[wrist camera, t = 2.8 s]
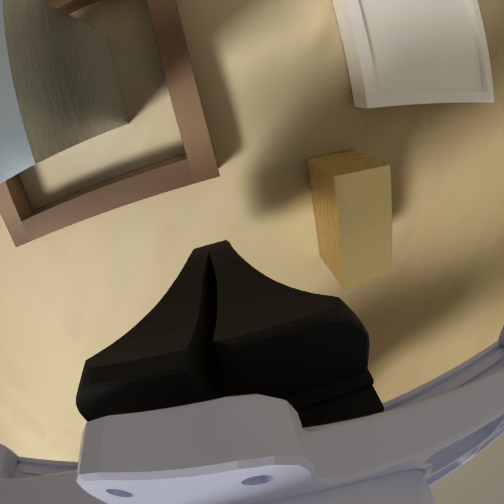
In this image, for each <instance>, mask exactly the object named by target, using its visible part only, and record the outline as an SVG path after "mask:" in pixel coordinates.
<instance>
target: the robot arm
mask: <svg viewBox="0 0 504 504" xmlns="http://www.w3.org/2000/svg"><path fill="white" fill-rule="evenodd" d="M368 355H369V335H368V333H367V331H366V329H365V327H364V326H363V324H362V322H361V321H360V320H359V318H358V317H357V316H356V315H355V314H354V312H353V311H352V310H351V309H350V308H349V307H348V306H347V305H346V304H345V303H344V302H343V301H342V300H341V299H340V298H339V297H334V296H327V295H320V294H314V293H309V292H305V291H301V290H298V289H294V288H291V287H289V286H286V285H283V284H281V283H278V282H276V281H274V280H272V279H271V278H269V277H267V276H265V275H264V274H262V273H261V272H259V271H258V270H256V269H255V268H254V267H252V266H251V265H250V264H248V263H247V262H246V261H245V260H244V259H243V258H242V257H241V256H240V255H239V254H238V253H237V252H236V251H235V250H234V249H233V247H232V246H231V244H230V242H228V241H227V240H224V241H221V242H217V243H214V244H210V245H206V246H203V247H199V248H196V249H194V250H193V252H192V253H191V255H190V257H189V258H188V260H187V262H186V264H185V265H184V267H183V269H182V270H181V272H180V274H179V275H178V277H177V278H176V280H175V281H174V283H173V284H172V286H171V287H170V288H169V290H168V291H167V293H166V294H165V295H164V296H163V298H162V299H161V300H160V301H159V302H158V304H157V305H156V306H155V307H154V308H153V309H152V310H151V311H150V312H149V313H148V314H147V315H146V316H145V317H144V318H143V319H142V320H141V321H140V322H139V323H138V324H137V325H136V326H135V327H133V328H132V329H131V330H130V331H129V332H127V333H126V334H125V335H124V336H122V337H121V338H120V339H118V340H117V341H116V342H114V343H113V344H111V345H110V346H108V347H107V348H105V349H104V350H102V351H100V352H99V353H97V354H96V355H94V356H93V357H91V358H89V359H87V360H86V362H85V365H84V368H83V372H82V376H81V380H80V383H79V387H78V391H77V396H76V405H77V408H78V410H79V412H80V413H81V415H82V416H83V417H84V418H85V419H86V420H87V423H86V426H85V428H84V431H83V434H82V441H81V447H80V454H79V461H78V462H67V461H53V460H42V459H33V458H25V457H18V456H17V455H16V454H15V453H14V452H13V451H12V450H10V449H9V448H7V447H6V446H4V445H2V444H0V504H437V503H436V500H435V499H434V496H433V494H432V492H431V490H430V488H429V485H431V484H433V483H434V482H436V481H438V480H439V479H441V478H443V477H444V476H446V475H447V474H449V473H450V472H452V471H453V470H455V469H457V468H458V467H460V466H461V465H462V464H464V463H465V462H467V461H468V460H470V459H471V458H472V457H474V456H475V455H476V454H478V453H479V452H480V451H482V450H483V449H484V448H486V447H487V446H488V445H489V444H491V443H492V442H493V441H495V440H496V439H497V438H498V437H499V436H501V435H502V434H503V433H504V327H503V328H502V331H501V333H500V336H499V340H498V341H497V342H495V343H494V344H492V345H491V346H489V347H488V348H486V349H484V350H483V351H481V352H480V353H478V354H477V355H475V356H473V357H472V358H470V359H468V360H467V361H465V362H463V363H462V364H460V365H458V366H457V367H455V368H453V369H451V370H450V371H448V372H446V373H444V374H442V375H441V376H439V377H437V378H435V379H433V380H431V381H429V382H427V383H425V384H423V385H421V386H419V387H417V388H415V389H413V390H411V391H409V392H407V393H405V394H403V395H401V396H398V397H396V398H394V399H392V400H390V401H387V402H385V403H383V404H382V402H381V401H380V399H379V397H378V395H377V393H376V391H375V389H374V387H373V386H372V384H373V378H372V376H371V374H370V372H369V371H368V369H367V366H368Z"/></svg>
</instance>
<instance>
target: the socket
mask: <svg viewBox="0 0 504 504" xmlns="http://www.w3.org/2000/svg"><path fill="white" fill-rule="evenodd" d="M43 1H45V2H47V3H49V4H50V5H52V6H54V7H56V8H58V9H60V10H61V11H63V12H65V13H67V14H70V13H72V12H74V11H76V10H78V9H80V8H82V7H85V6H87V5H89V4H91V3H94V2H96V1H98V0H43ZM147 5H148V9H149V13H150V18H151V22H152V26H153V30H154V35H155V39H156V43H157V47H158V51H159V55H160V59H161V63H162V67H163V71H164V74H165V78H166V82H167V86H168V90H169V94H170V97H171V101H172V105H173V109H174V112H175V116H176V120H177V123H178V127H179V130H180V134H181V138H182V141H183V145H184V148H185V152H186V154H185V155H182V156H178V157H175V158H172V159H168V160H165V161H162V162H159V163H156V164H153V165H150V166H147V167H144V168H141V169H138V170H135V171H132V172H129V173H126V174H124V175H121V176H118V177H115V178H113V179H110V180H107V181H105V182H102V183H99V184H97V185H94V186H92V187H89V188H86V189H84V190H82V191H79V192H77V193H74V194H72V195H69V196H67V197H65V198H62V199H60V200H58V201H55V202H53V203H51V204H49V205H46V206H44V207H42V208H40V209H38V210H35V211H32V209H31V207H30V204H29V202H28V199H27V197H26V194H25V192H24V189H23V186H22V184H21V181H20V178H19V176H18V174H17V175H15V176H13V177H11V178H10V179H8V180H6V181H4V182H3V183H1V184H0V213H1V215H2V217H3V220H4V222H5V224H6V227H7V229H8V231H9V233H10V235H11V237H12V240H13V242H14V244H15V246H16V247H18V246H20V245H22V244H25V243H27V242H29V241H32V240H34V239H37V238H39V237H41V236H44V235H46V234H49V233H51V232H54V231H56V230H59V229H61V228H64V227H66V226H69V225H72V224H74V223H77V222H79V221H82V220H85V219H87V218H90V217H93V216H96V215H98V214H101V213H104V212H107V211H110V210H112V209H115V208H118V207H121V206H124V205H127V204H130V203H133V202H136V201H139V200H142V199H145V198H148V197H151V196H154V195H158V194H161V193H164V192H167V191H170V190H174V189H177V188H180V187H184V186H187V185H190V184H194V183H197V182H201V181H204V180H208V179H212V178H215V177H219V176H220V174H219V171H218V167H217V163H216V159H215V155H214V152H213V148H212V144H211V140H210V136H209V133H208V129H207V125H206V121H205V117H204V113H203V109H202V106H201V102H200V98H199V94H198V90H197V86H196V82H195V78H194V74H193V70H192V66H191V62H190V58H189V54H188V51H187V47H186V43H185V39H184V35H183V30H182V26H181V22H180V18H179V14H178V10H177V6H176V2H175V0H147Z"/></svg>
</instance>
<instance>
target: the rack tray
mask: <svg viewBox="0 0 504 504" xmlns="http://www.w3.org/2000/svg"><path fill="white" fill-rule="evenodd" d="M332 2H333V6H334V10H335V13H336V17H337V21H338V25H339V30H340V34H341V38H342V42H343V47H344V52H345V56H346V61H347V66H348V72H349V77H350V82H351V88H352V94H353V100H354V106H355V107H360V108H367V109H368V108H378V107H388V106H399V105H412V104H430V103H494V92H493V82H492V73H491V65H490V58H489V52H488V46H487V41H486V35H485V31H484V26H483V21H482V17H481V13H480V9H479V5H478V2H477V0H332Z"/></svg>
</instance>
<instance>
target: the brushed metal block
mask: <svg viewBox="0 0 504 504" xmlns="http://www.w3.org/2000/svg"><path fill="white" fill-rule="evenodd" d="M126 124H129V121H128V117H127V114H126V110H125V106H124V103H123V99H122V96H121V92H120V88H119V84H118V80H117V77H116V73H115V69H114V65H113V60H112V56H111V52H110V48H109V43H108V39H107V37H105V36H104V35H102V34H100V33H99V32H97V31H95V30H94V29H92V28H91V27H89V26H87V25H86V24H84V23H82V22H80V21H79V20H77V19H75V18H74V17H72V16H70V15H68V14H67V13H65V12H63V11H61V10H60V9H58V8H56V7H54V6H52V5H50V4H49V3H47V2H45V1H43V0H0V184H1V183H3V182H4V181H6V180H8V179H10V178H11V177H13V176H15V175H17V174H18V173H20V172H22V171H24V170H26V169H28V168H29V167H31V166H33V165H35V164H37V163H39V162H41V161H43V160H45V159H47V158H49V157H51V156H53V155H55V154H57V153H59V152H61V151H64V150H66V149H68V148H70V147H72V146H74V145H77V144H79V143H81V142H83V141H86V140H88V139H90V138H93V137H95V136H98V135H100V134H103V133H105V132H108V131H110V130H113V129H115V128H118V127H120V126H123V125H126Z"/></svg>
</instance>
